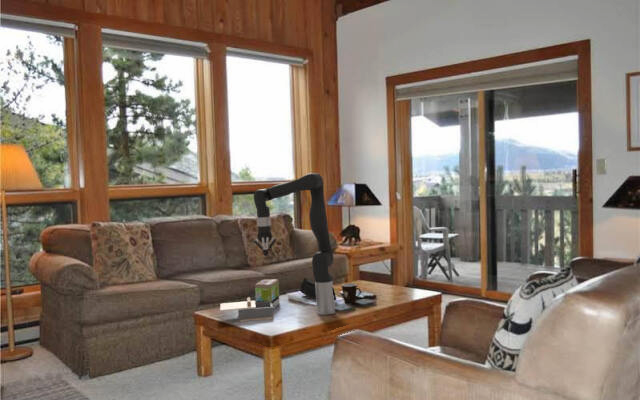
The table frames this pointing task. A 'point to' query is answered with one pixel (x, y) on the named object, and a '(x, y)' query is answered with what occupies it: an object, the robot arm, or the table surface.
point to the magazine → (311, 289)
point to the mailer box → (257, 312)
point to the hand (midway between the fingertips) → (265, 255)
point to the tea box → (267, 291)
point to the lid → (238, 305)
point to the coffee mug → (350, 292)
